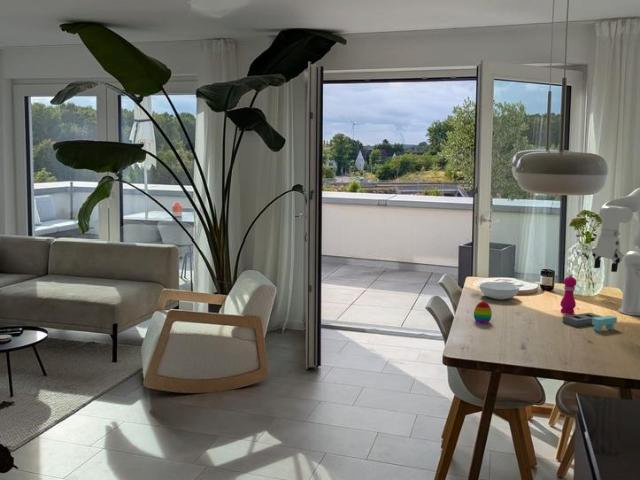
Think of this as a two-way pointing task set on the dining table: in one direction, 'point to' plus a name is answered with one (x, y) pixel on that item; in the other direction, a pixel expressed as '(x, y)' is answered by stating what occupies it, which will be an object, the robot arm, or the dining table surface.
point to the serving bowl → (499, 290)
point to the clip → (604, 322)
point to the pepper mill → (568, 296)
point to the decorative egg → (482, 312)
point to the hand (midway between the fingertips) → (605, 269)
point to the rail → (580, 319)
